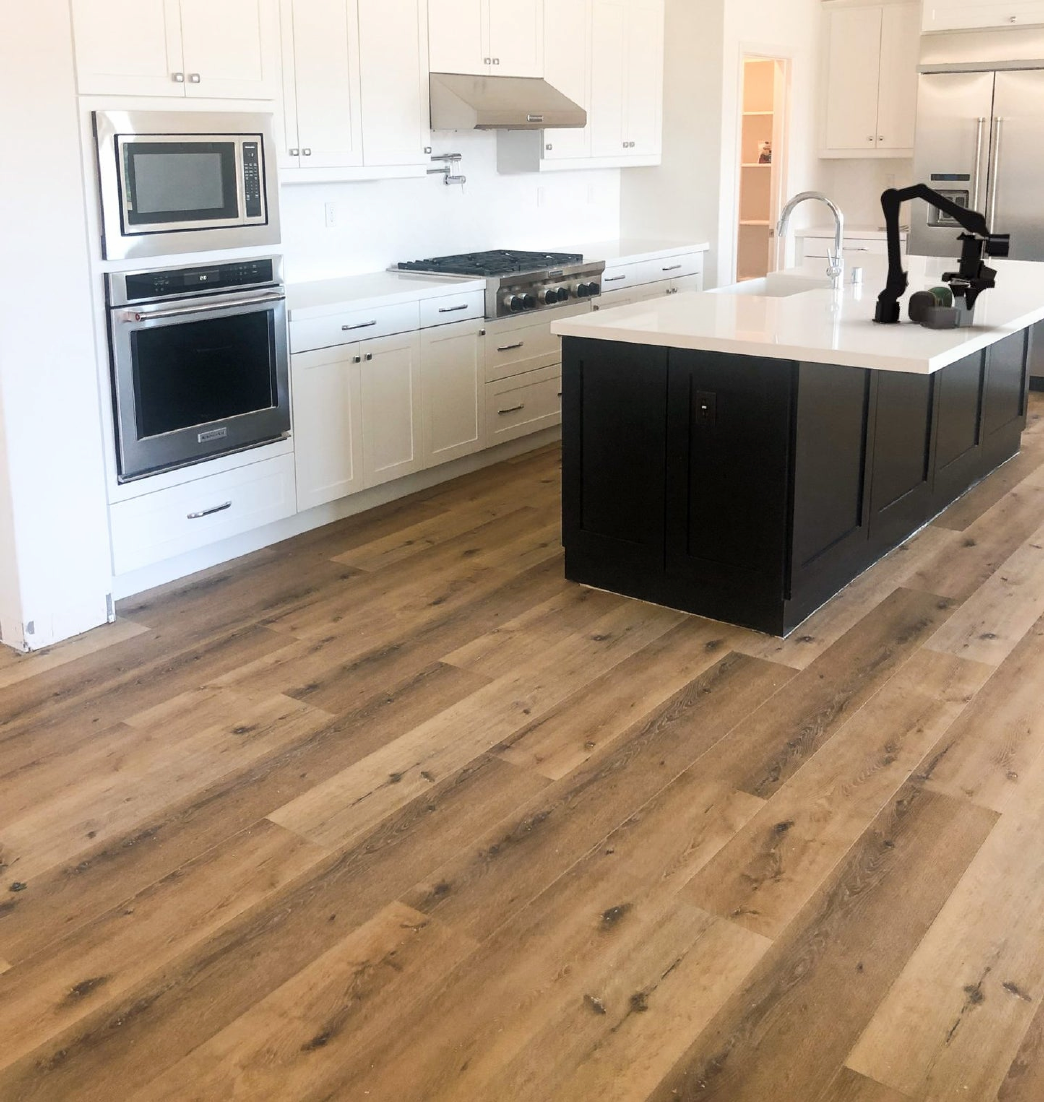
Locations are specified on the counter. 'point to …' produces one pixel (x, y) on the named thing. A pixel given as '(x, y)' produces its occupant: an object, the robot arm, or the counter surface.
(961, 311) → the end cover
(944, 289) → the coffee jar
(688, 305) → the counter surface
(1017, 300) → the counter surface
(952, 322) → the housing
